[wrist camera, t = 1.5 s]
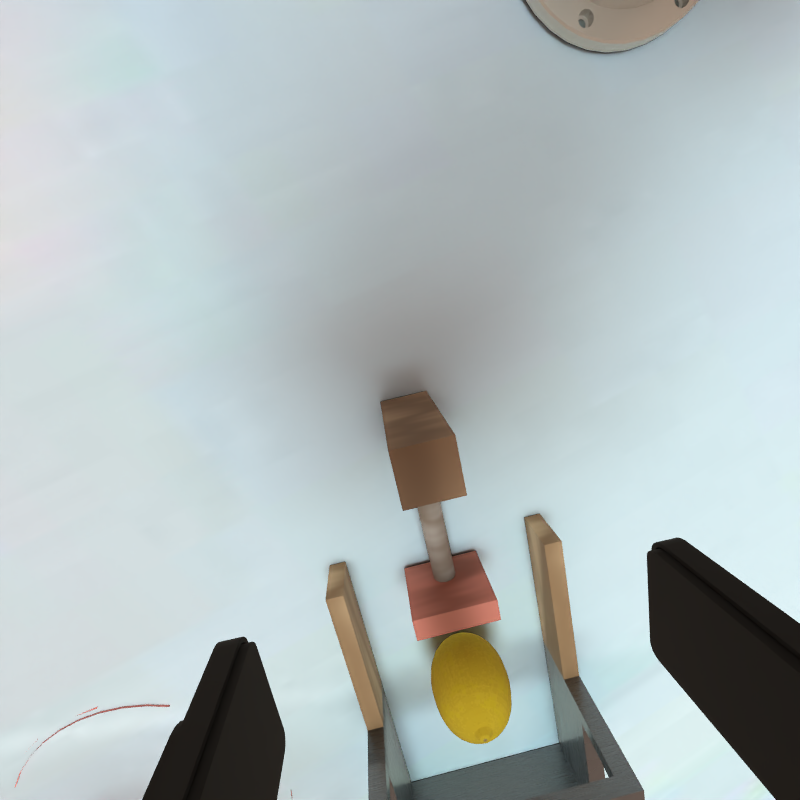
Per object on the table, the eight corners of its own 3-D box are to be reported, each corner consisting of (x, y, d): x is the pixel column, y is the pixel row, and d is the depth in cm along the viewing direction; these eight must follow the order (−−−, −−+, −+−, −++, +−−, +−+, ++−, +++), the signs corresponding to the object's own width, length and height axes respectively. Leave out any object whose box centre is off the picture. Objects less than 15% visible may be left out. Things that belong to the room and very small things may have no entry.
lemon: (411, 632, 33) (426, 735, 25) (469, 597, 33) (503, 691, 25) (445, 675, 34) (469, 786, 27) (502, 642, 34) (543, 745, 26)
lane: (539, 513, 31) (561, 541, 28) (557, 637, 34) (579, 675, 31) (329, 565, 31) (325, 600, 27) (367, 685, 34) (367, 730, 30)
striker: (443, 386, 28) (480, 428, 19) (478, 568, 32) (522, 671, 23) (362, 405, 28) (363, 456, 19) (408, 585, 31) (426, 696, 23)
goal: (557, 637, 34) (643, 790, 24) (573, 749, 38) (655, 926, 27) (367, 685, 34) (369, 864, 23) (401, 795, 37) (416, 993, 27)
